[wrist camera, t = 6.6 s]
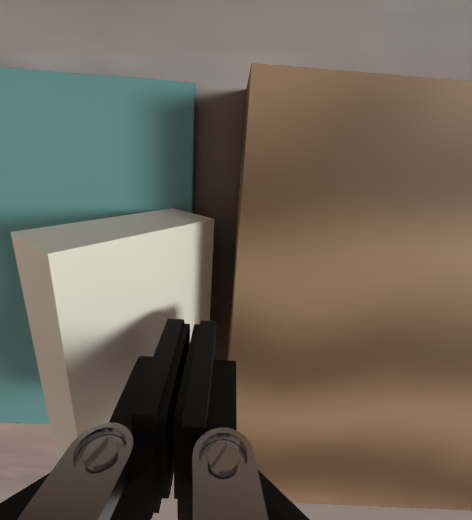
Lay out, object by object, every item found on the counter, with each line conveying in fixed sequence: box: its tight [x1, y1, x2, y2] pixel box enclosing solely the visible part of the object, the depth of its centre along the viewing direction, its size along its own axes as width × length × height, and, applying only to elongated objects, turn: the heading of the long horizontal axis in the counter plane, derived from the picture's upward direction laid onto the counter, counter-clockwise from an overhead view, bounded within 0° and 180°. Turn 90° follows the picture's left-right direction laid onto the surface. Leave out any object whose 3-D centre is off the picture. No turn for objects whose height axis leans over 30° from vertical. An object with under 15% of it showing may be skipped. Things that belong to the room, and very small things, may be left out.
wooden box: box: [227, 63, 472, 510], centre depth 13 cm, size 18×14×4 cm
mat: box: [0, 67, 195, 425], centre depth 15 cm, size 18×12×1 cm, turn 176°
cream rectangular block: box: [11, 208, 214, 460], centre depth 12 cm, size 9×6×2 cm
